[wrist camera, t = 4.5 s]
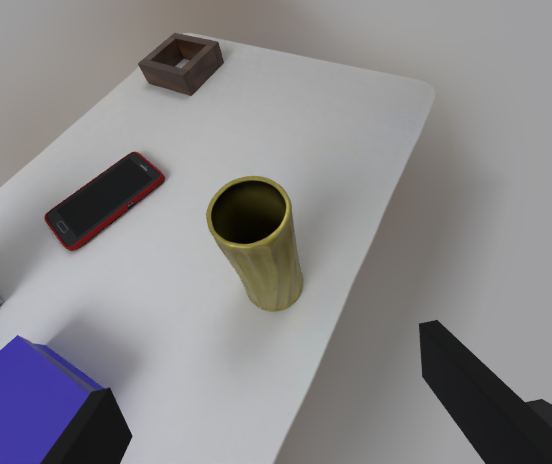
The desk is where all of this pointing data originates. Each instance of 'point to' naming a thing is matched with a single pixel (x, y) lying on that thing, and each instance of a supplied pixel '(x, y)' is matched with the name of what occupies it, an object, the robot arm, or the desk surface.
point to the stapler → (36, 400)
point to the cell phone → (103, 200)
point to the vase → (258, 239)
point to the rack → (171, 52)
